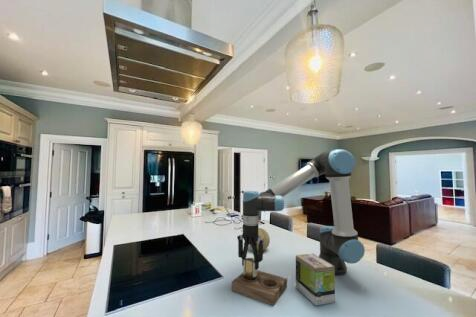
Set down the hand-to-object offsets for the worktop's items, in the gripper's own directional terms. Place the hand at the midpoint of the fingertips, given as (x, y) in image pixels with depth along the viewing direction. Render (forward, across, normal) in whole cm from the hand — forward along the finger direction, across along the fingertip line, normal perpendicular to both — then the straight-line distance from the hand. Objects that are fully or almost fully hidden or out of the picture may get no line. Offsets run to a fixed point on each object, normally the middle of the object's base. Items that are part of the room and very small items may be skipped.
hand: (250, 274), depth 101 cm
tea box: (+5, +27, +9) cm, 29 cm away
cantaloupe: (+5, -16, +43) cm, 46 cm away
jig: (+5, +5, 0) cm, 7 cm away
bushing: (+3, 0, 0) cm, 3 cm away
